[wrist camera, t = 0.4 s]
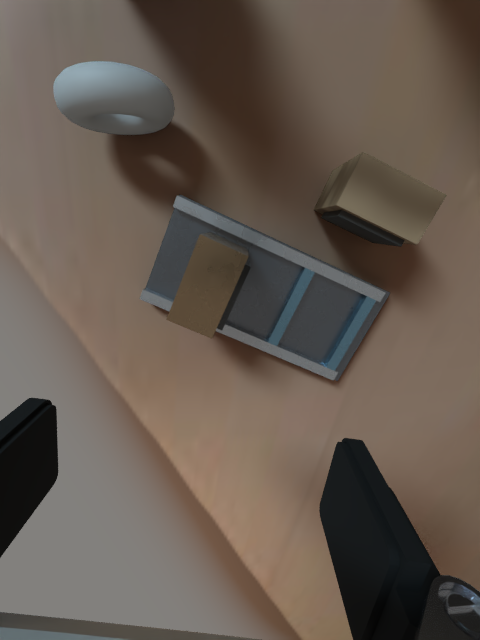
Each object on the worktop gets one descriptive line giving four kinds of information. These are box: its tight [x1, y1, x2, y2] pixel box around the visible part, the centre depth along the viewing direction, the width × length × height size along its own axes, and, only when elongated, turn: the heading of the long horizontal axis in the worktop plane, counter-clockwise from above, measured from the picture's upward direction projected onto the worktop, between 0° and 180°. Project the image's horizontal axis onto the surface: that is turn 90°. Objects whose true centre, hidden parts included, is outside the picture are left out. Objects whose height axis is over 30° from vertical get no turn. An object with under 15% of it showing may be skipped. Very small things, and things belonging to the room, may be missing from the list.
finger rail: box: [140, 194, 390, 381], centre depth 33 cm, size 12×26×11 cm, turn 66°
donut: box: [54, 61, 175, 135], centre depth 28 cm, size 10×3×10 cm, turn 91°
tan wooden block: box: [314, 152, 446, 246], centre depth 31 cm, size 5×8×9 cm, turn 66°
